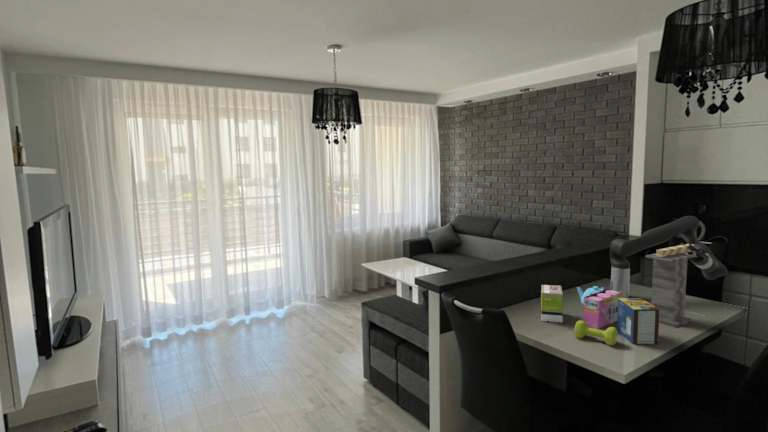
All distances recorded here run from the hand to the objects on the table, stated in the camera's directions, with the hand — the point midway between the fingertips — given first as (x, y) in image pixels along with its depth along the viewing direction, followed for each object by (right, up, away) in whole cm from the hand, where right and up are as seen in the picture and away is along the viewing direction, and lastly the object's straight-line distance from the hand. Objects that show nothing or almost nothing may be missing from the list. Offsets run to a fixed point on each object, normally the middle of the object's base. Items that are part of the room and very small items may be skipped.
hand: (685, 245), depth 208 cm
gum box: (-41, -37, -2) cm, 56 cm away
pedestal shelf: (-10, -36, -2) cm, 38 cm away
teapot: (-34, -34, +21) cm, 53 cm away
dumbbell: (-56, -40, -24) cm, 73 cm away
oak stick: (-7, -4, -3) cm, 9 cm away
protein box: (-37, -39, -21) cm, 58 cm away
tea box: (-63, -37, +6) cm, 73 cm away
